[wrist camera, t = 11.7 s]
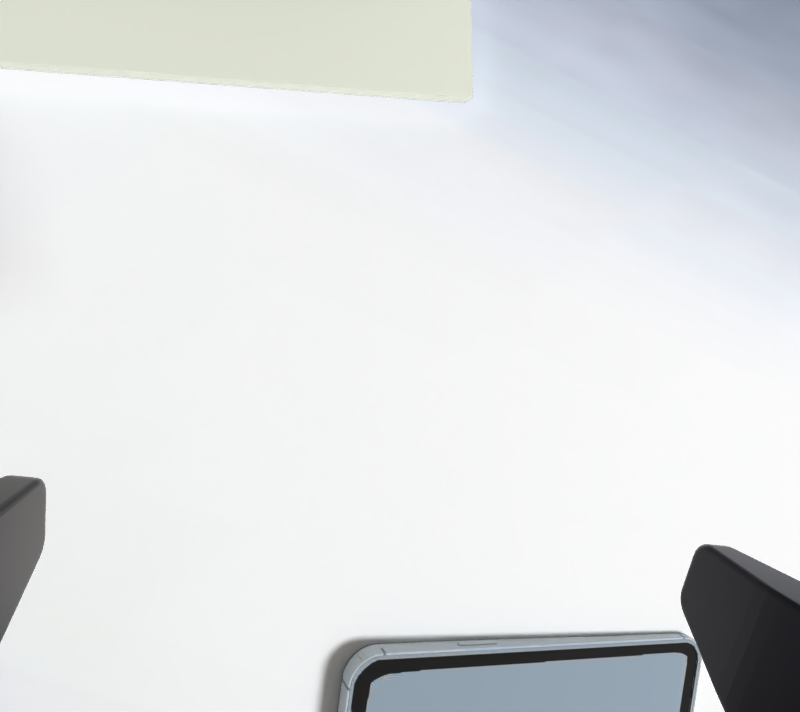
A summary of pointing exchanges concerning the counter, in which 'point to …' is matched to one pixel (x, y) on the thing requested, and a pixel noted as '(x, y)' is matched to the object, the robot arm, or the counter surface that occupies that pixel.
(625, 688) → the smartphone
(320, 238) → the counter surface
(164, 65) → the mat
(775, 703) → the robot arm
